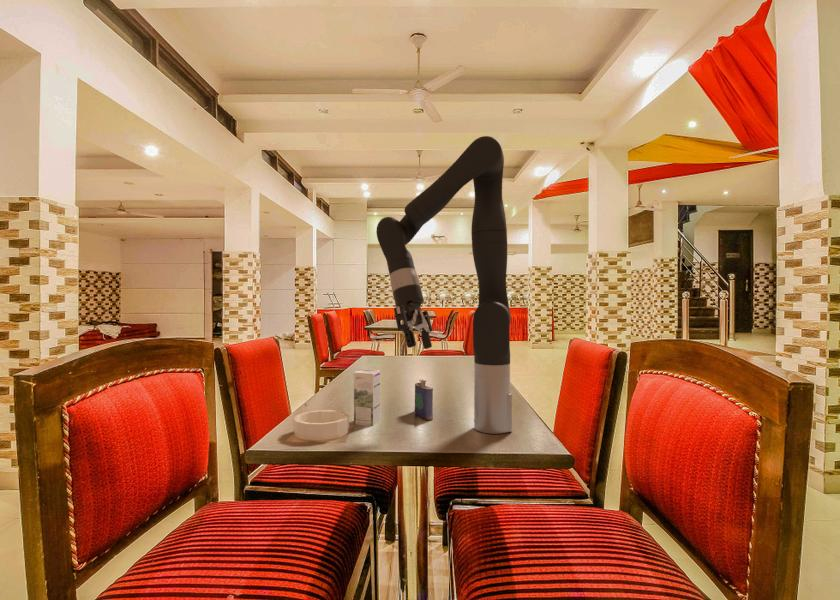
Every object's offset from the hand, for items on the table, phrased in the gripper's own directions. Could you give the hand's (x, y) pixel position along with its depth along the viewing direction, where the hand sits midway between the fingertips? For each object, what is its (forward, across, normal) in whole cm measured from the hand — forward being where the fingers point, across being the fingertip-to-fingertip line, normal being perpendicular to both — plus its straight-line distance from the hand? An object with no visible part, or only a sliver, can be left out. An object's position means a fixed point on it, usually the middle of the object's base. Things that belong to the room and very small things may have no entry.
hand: (420, 347), depth 114 cm
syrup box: (+15, +1, +22) cm, 27 cm away
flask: (+17, +16, +12) cm, 26 cm away
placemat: (+15, -12, +26) cm, 33 cm away
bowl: (+15, -12, +26) cm, 32 cm away
